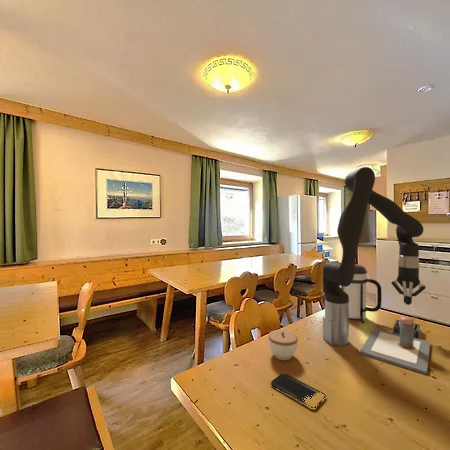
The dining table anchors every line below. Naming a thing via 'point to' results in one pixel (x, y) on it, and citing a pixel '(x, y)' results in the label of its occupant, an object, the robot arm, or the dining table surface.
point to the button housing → (416, 332)
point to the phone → (294, 387)
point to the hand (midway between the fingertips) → (407, 304)
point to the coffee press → (360, 294)
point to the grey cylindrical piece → (406, 332)
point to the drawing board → (397, 350)
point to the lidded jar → (283, 344)
